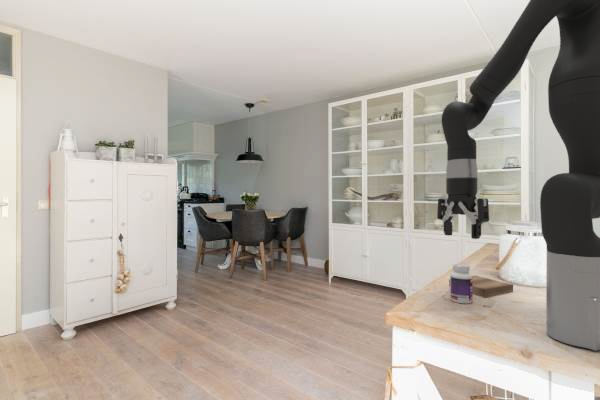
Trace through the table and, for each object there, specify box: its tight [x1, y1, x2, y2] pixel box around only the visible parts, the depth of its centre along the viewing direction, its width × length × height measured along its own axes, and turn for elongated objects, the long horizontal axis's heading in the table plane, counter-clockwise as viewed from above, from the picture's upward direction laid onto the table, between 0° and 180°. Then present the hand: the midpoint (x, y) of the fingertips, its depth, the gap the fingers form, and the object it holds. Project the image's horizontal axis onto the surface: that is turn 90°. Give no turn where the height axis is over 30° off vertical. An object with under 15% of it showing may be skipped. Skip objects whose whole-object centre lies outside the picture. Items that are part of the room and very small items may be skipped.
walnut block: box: [448, 275, 514, 299], centre depth 96 cm, size 12×12×3 cm
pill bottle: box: [449, 263, 473, 305], centre depth 86 cm, size 5×5×10 cm
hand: (461, 236), depth 85 cm, fingers open, 8 cm apart
